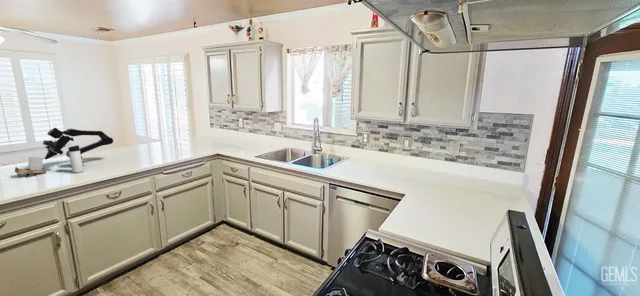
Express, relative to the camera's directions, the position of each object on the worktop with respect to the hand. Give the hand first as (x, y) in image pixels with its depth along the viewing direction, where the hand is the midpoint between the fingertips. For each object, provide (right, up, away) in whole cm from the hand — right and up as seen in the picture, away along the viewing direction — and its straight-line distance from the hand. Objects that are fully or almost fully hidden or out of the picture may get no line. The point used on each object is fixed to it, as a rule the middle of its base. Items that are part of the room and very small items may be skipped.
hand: (45, 159), depth 208 cm
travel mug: (+23, -10, +2) cm, 25 cm away
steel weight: (-4, -8, -4) cm, 10 cm away
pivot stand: (-5, -11, -5) cm, 13 cm away
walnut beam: (-5, -9, -6) cm, 13 cm away
